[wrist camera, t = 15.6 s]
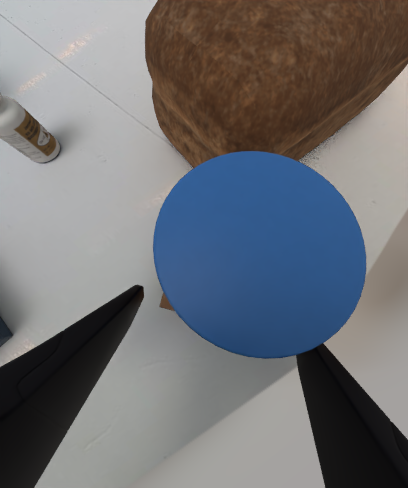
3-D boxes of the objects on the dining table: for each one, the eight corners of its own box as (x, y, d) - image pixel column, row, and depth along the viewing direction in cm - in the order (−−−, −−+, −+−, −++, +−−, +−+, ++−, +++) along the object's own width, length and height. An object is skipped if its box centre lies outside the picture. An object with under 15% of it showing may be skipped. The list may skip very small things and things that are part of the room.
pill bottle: (62, 159, 22) (-13, 95, 14) (30, 167, 21) (-65, 105, 14) (60, 135, 23) (-12, 62, 15) (29, 142, 22) (-60, 71, 15)
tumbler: (197, 302, 16) (173, 390, 3) (186, 251, 17) (138, 169, 4) (249, 290, 16) (410, 325, 4) (234, 240, 17) (316, 134, 5)
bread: (374, 106, 24) (570, -91, 11) (226, 220, 20) (272, 106, 7) (295, 48, 27) (378, -160, 14) (151, 135, 23) (84, -55, 10)
